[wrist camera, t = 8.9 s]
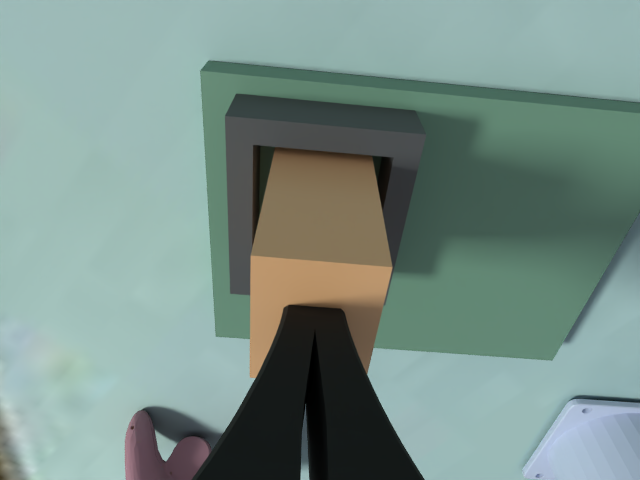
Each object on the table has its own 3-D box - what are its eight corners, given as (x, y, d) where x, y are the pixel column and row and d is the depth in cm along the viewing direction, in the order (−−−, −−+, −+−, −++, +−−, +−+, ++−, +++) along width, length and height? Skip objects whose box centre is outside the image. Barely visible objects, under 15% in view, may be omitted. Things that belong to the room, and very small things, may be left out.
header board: (671, 106, 16) (740, 143, 13) (542, 341, 23) (570, 396, 20) (208, 60, 15) (183, 91, 13) (220, 317, 22) (206, 371, 19)
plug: (368, 136, 15) (392, 267, 10) (352, 234, 18) (364, 385, 12) (279, 128, 15) (250, 255, 10) (275, 227, 18) (249, 377, 12)
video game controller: (152, 417, 30) (132, 546, 26) (122, 407, 26) (94, 558, 22) (303, 415, 29) (302, 545, 26) (297, 405, 25) (295, 557, 22)
